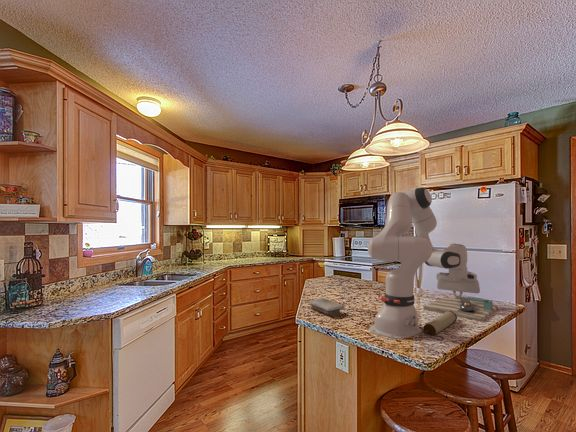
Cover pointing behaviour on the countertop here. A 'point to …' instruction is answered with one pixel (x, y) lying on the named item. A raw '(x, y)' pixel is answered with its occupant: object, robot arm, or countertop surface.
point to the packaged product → (326, 306)
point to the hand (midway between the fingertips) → (457, 299)
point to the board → (454, 306)
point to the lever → (466, 305)
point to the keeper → (486, 302)
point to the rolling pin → (439, 323)
